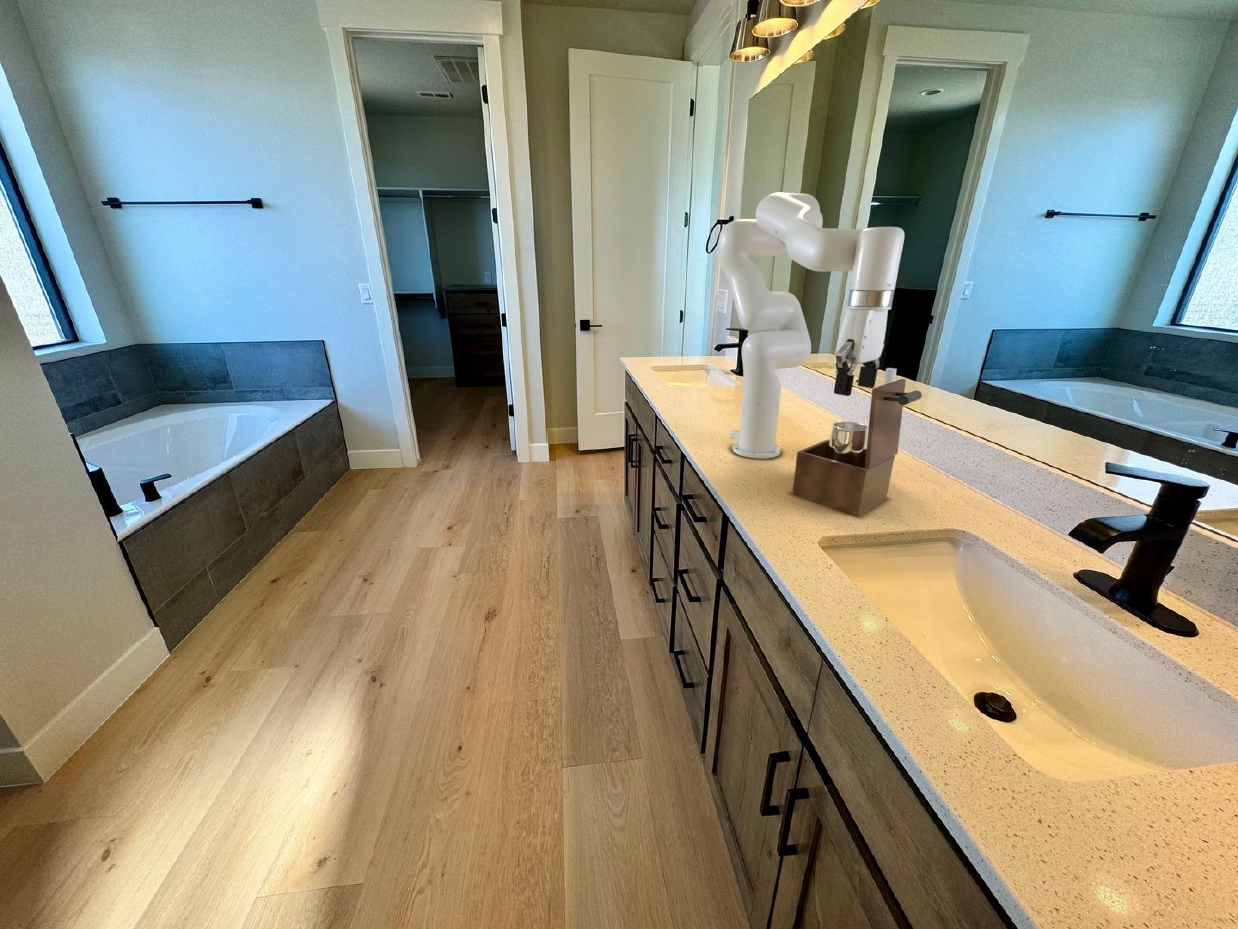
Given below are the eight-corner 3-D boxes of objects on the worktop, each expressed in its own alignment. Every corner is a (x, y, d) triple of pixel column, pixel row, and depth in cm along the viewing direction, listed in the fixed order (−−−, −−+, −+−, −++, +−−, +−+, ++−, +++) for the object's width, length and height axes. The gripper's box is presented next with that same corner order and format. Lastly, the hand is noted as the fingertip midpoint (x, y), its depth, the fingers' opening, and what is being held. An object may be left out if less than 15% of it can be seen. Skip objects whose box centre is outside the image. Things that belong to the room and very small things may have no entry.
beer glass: (836, 501, 102) (847, 432, 96) (815, 488, 108) (824, 422, 103) (864, 497, 103) (877, 429, 98) (842, 484, 110) (852, 419, 104)
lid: (872, 388, 89) (902, 390, 85) (901, 378, 96) (930, 380, 93) (864, 468, 94) (893, 473, 90) (893, 453, 101) (920, 457, 97)
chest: (792, 493, 107) (797, 451, 104) (822, 478, 115) (827, 439, 111) (858, 516, 97) (866, 470, 93) (886, 498, 104) (895, 455, 101)
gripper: (870, 297, 99) (856, 381, 106) (826, 302, 89) (813, 394, 96) (910, 299, 94) (892, 387, 100) (868, 304, 84) (851, 401, 90)
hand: (854, 390), depth 98 cm, fingers open, 9 cm apart
